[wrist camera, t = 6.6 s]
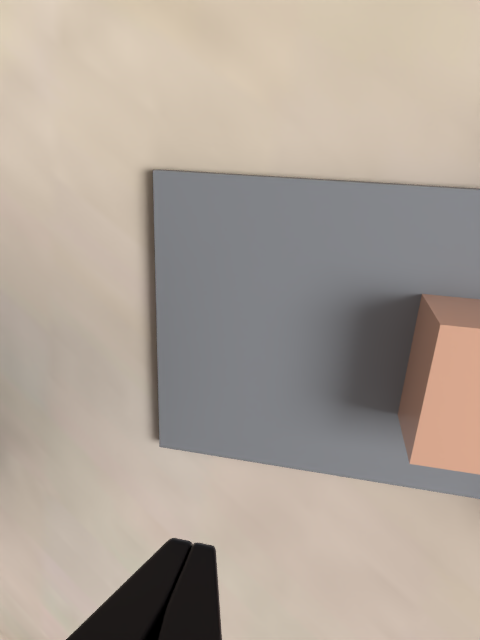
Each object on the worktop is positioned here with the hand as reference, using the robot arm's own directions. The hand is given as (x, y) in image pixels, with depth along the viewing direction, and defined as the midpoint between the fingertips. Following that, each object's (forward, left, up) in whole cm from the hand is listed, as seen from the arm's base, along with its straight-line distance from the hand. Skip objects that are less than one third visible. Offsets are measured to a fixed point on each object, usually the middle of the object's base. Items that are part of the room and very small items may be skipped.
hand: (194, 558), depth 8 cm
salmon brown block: (+8, 0, -10) cm, 13 cm away
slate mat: (+5, 0, -11) cm, 12 cm away
